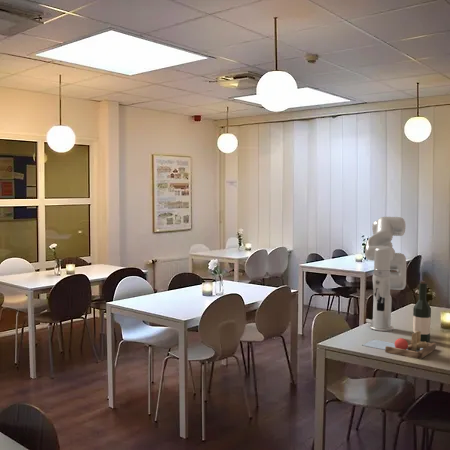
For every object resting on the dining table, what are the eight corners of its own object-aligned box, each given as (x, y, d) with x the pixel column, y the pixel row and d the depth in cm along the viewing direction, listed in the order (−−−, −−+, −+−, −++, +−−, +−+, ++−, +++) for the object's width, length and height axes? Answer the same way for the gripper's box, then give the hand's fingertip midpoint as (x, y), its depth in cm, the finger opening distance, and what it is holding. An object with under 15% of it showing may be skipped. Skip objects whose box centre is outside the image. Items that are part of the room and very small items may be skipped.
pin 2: (413, 350, 256) (414, 331, 255) (415, 349, 258) (416, 330, 257) (419, 351, 254) (419, 332, 254) (420, 350, 256) (421, 331, 256)
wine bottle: (411, 341, 272) (414, 282, 270) (412, 337, 280) (414, 280, 278) (429, 343, 269) (431, 283, 267) (429, 339, 276) (432, 281, 275)
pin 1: (410, 352, 252) (411, 333, 251) (412, 351, 254) (412, 332, 253) (415, 353, 250) (416, 334, 250) (417, 352, 252) (417, 333, 252)
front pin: (406, 345, 255) (424, 341, 250) (407, 344, 257) (426, 341, 252) (407, 350, 255) (426, 347, 250) (409, 349, 257) (427, 346, 252)
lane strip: (362, 345, 263) (362, 345, 263) (373, 339, 274) (373, 339, 274) (420, 356, 246) (420, 356, 246) (430, 350, 257) (430, 349, 257)
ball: (403, 355, 252) (393, 350, 257) (411, 348, 254) (401, 342, 259) (401, 346, 249) (390, 341, 254) (409, 339, 251) (399, 333, 256)
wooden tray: (385, 352, 252) (385, 345, 252) (401, 343, 269) (401, 337, 268) (421, 359, 242) (421, 352, 242) (435, 349, 259) (435, 342, 258)
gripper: (383, 275, 255) (382, 314, 256) (395, 272, 266) (393, 309, 267) (368, 274, 259) (367, 312, 260) (380, 270, 271) (379, 307, 272)
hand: (380, 310), depth 264 cm, fingers closed
